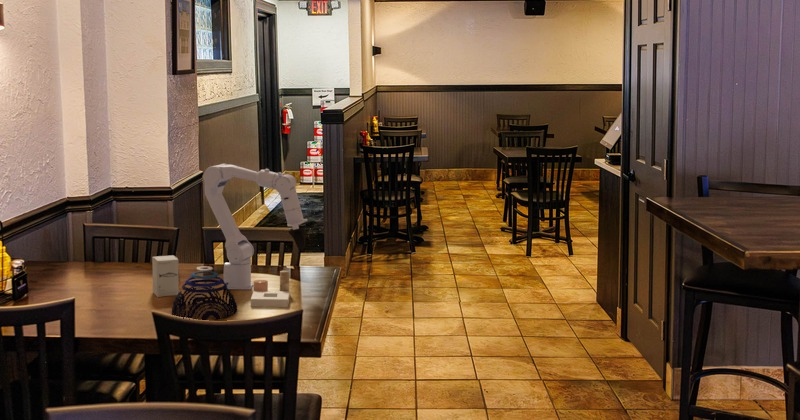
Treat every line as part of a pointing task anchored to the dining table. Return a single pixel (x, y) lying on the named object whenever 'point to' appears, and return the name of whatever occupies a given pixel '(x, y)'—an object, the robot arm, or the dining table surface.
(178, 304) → the decorative bowl
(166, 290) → the supplement box
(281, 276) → the beech pin
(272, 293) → the hole plate
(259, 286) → the terracotta peg
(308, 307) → the dining table surface
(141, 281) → the dining table surface
